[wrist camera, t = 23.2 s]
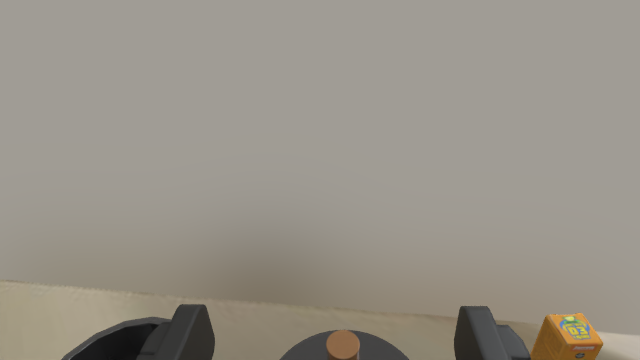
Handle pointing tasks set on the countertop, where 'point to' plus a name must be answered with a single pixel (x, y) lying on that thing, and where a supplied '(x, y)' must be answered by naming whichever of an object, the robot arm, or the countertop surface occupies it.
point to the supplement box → (566, 339)
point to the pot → (117, 341)
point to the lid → (344, 347)
